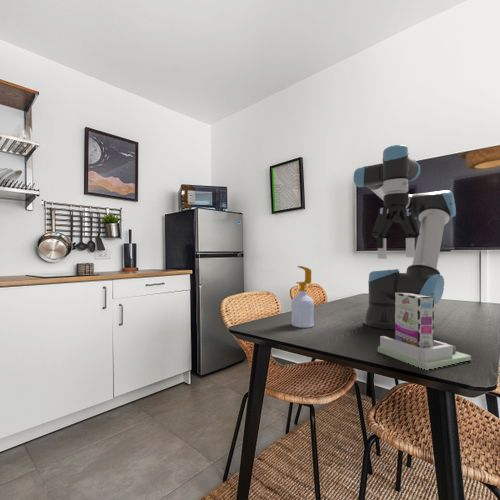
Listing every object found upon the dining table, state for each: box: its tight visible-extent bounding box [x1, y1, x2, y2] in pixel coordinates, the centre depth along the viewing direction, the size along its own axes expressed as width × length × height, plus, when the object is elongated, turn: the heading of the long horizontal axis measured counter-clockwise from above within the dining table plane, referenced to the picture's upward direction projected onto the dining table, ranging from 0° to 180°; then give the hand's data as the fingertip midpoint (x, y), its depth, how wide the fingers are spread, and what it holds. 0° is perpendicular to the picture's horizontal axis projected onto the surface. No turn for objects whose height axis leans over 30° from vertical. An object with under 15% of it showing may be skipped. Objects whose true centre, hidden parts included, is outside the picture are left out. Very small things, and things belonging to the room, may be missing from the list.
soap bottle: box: [291, 265, 315, 329], centre depth 125 cm, size 9×9×25 cm
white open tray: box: [377, 335, 472, 371], centre depth 88 cm, size 18×16×4 cm
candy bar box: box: [394, 293, 435, 348], centre depth 89 cm, size 11×5×16 cm, turn 8°
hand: (396, 257), depth 100 cm, fingers open, 13 cm apart
